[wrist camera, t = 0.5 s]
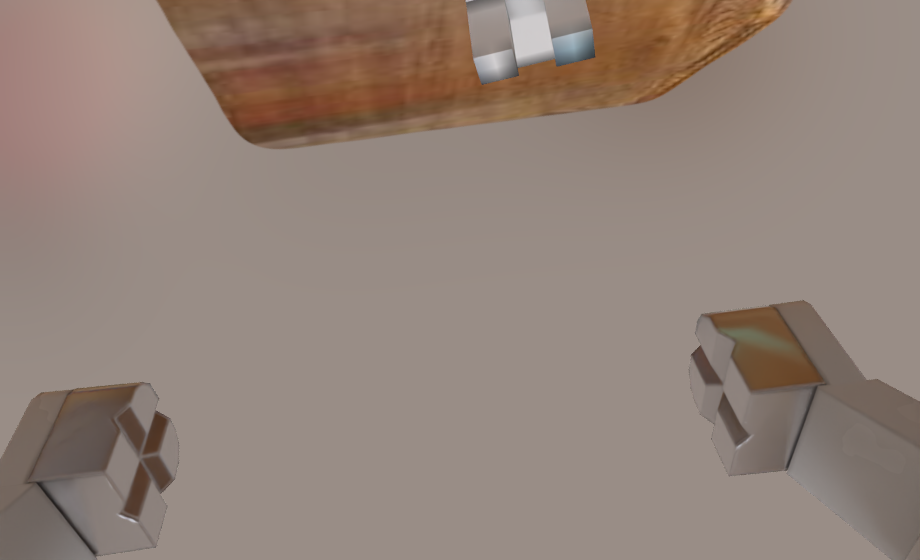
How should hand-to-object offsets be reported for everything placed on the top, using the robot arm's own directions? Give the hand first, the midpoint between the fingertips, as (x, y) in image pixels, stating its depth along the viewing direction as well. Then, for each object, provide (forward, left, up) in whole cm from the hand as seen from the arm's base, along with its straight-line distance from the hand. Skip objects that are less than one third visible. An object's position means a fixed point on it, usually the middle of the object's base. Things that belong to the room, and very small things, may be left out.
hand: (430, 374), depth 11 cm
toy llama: (+29, -5, -49) cm, 57 cm away
